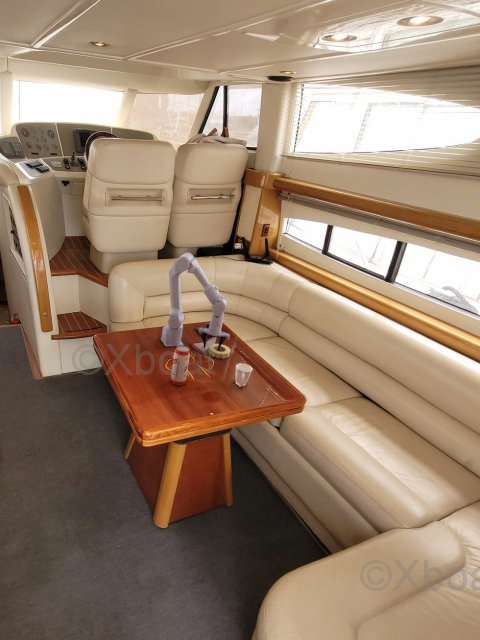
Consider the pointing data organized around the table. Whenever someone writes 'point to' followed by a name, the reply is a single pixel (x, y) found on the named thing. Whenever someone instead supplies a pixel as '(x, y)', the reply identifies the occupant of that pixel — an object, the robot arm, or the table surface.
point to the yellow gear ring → (218, 354)
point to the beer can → (180, 365)
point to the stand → (207, 328)
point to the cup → (242, 374)
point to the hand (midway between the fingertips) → (211, 348)
